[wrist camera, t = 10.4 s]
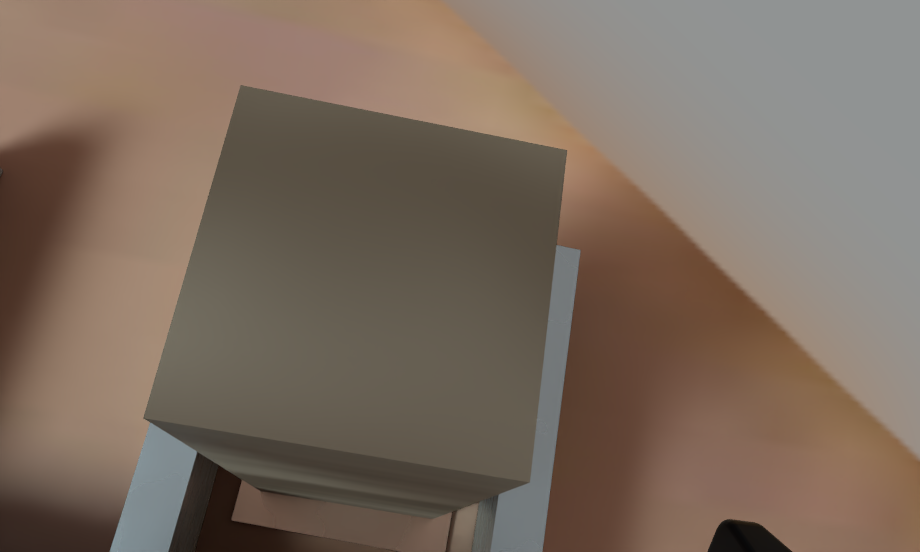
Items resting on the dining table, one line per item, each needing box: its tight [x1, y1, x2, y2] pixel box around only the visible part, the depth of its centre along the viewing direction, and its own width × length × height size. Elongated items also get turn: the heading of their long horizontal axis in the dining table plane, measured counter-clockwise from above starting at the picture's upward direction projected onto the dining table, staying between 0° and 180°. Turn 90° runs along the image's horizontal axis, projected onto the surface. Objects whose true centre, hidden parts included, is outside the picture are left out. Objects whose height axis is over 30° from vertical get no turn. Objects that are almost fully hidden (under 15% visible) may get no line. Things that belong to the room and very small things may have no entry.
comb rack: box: [0, 168, 581, 552], centre depth 19 cm, size 11×18×3 cm, turn 80°
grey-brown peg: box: [144, 85, 567, 519], centre depth 15 cm, size 5×5×12 cm
